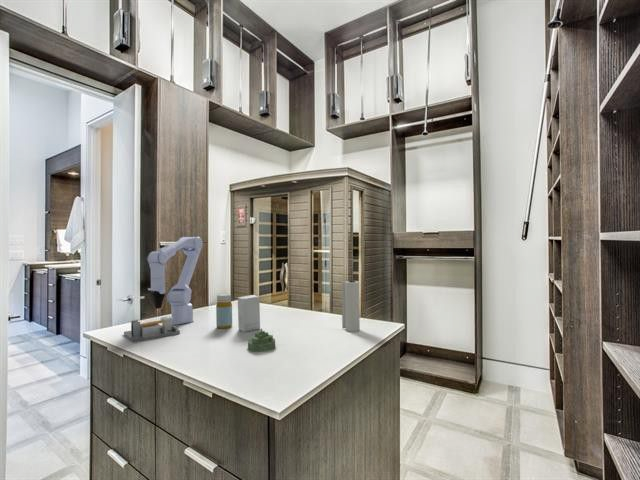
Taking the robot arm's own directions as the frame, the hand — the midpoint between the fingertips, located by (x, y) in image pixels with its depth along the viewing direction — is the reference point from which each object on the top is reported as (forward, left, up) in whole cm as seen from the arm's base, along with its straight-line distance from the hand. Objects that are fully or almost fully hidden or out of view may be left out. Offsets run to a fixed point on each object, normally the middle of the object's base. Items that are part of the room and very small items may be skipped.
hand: (158, 308), depth 148 cm
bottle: (-24, +16, -10) cm, 31 cm away
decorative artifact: (-21, +53, -10) cm, 58 cm away
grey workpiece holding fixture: (+4, +4, -10) cm, 11 cm away
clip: (-1, +6, -9) cm, 11 cm away
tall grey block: (-62, +61, -10) cm, 88 cm away
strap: (+4, +4, -6) cm, 8 cm away
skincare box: (-30, +28, -10) cm, 42 cm away
